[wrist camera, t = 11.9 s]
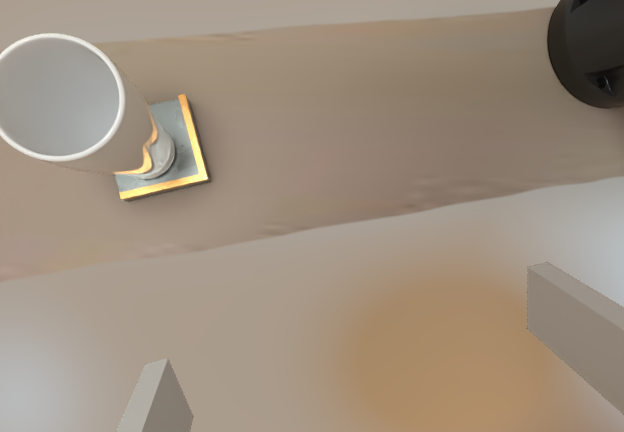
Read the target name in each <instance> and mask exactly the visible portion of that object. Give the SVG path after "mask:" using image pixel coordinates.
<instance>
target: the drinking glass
mask: <svg viewBox="0 0 624 432" xmlns="http://www.w3.org/2000/svg"><path fill="white" fill-rule="evenodd" d="M0 136H1V137H2V138H3V139H4V140H5V141H6V142H7V143H8V144H10V145H11V146H12V147H14V148H15V149H17V150H18V151H20V152H22V153H24V154H26V155H28V156H31V157H33V158H36V159H39V160H42V161H45V162H47V163H50V164H54V165H57V166H60V167H64V168H67V169H72V170H77V171H82V172H88V173H97V174H108V175H120V176H130V177H134V178H138V179H151V178H155V177H158V176H160V175H161V174H163V173H164V172H165V171H167V169H168V168H169V167H170V166H171V164H172V162H173V159H174V155H175V147H174V142H173V140H172V138H171V136H170V134H169V133H168V132H167V130H166V129H165V128H164V127H163V126H162V125H161V123H160V121H159V120H158V118H157V117H156V115H155V114H154V112H153V110H152V109H151V107H150V106H149V104H148V103H147V101H146V99H145V98H144V96H143V95H142V94H141V92H140V91H139V89H138V88H137V87H136V86H135V84H134V83H133V82H132V81H131V80H130V78H129V77H128V76H127V75H126V74H125V73H124V72H123V71H122V70H121V69H120V68H119V67H118V66H117V65H116V64H115V63H114V62H113V61H112V60H110V59H109V58H108V57H107V56H106V55H105V54H104V53H103V52H102V51H100V50H99V49H98V48H96V47H95V46H93V45H92V44H90V43H88V42H86V41H84V40H82V39H79V38H77V37H74V36H69V35H65V34H56V33H45V34H37V35H32V36H29V37H26V38H23V39H21V40H19V41H17V42H15V43H13V44H12V45H10V46H9V47H7V48H6V49H5V50H4V51H3V52H2V53H1V54H0Z"/></svg>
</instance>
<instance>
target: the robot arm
mask: <svg viewBox="0 0 624 432" xmlns="http://www.w3.org/2000/svg"><path fill="white" fill-rule="evenodd" d="M548 44H549V52H550V57H551V61H552V64H553V66H554V69H555V71H556V73H557V75H558V77H559V78H560V80H561V81H562V83H563V84H564V86H565V87H566V88H567V89H568V90H569V91H570V92H571V93H572V94H573V95H574V96H576V97H577V98H578V99H580V100H582V101H583V102H585V103H587V104H590V105H593V106H596V107H601V108H614V107H619V106H623V105H624V0H560V2H559V3H558V5H557V7H556V8H555V10H554V13H553V15H552V18H551V22H550V26H549V35H548ZM527 294H528V295H527V329H528V330H529V331H530V332H532V333H533V334H534V335H535V336H536V337H537V338H538V339H539V340H540V341H542V342H543V343H544V344H545V345H546V346H547V347H548V348H550V349H551V350H552V351H553V352H554V353H555V354H556V355H557V356H558V357H559V358H561V359H562V360H563V361H564V362H565V363H566V364H568V365H569V366H570V367H571V368H572V369H573V370H574V371H575V372H576V373H577V374H579V375H580V376H581V377H582V378H583V379H584V380H585V381H586V382H588V383H589V384H590V385H591V386H592V387H593V388H594V389H595V390H596V391H598V392H599V393H600V394H601V395H602V396H603V397H604V398H605V399H607V400H608V401H609V402H610V403H611V404H612V405H613V406H614V407H616V408H617V409H618V410H619V411H620V412H621V413H622V414H623V415H624V307H622V306H620V305H619V304H617V303H616V302H614V301H612V300H610V299H609V298H607V297H605V296H604V295H602V294H601V293H599V292H597V291H596V290H594V289H592V288H590V287H589V286H587V285H585V284H584V283H582V282H580V281H579V280H577V279H575V278H574V277H572V276H570V275H569V274H567V273H565V272H564V271H562V270H560V269H558V268H556V267H555V266H553V265H552V264H550V263H548V262H546V263H542V264H538V265H534V266H530V267H528V291H527ZM192 420H193V414H192V412H191V410H190V408H189V405H188V403H187V401H186V398H185V396H184V394H183V391H182V389H181V387H180V384H179V382H178V380H177V378H176V375H175V373H174V371H173V368H172V366H171V364H170V362H169V359H168V358H167V359H163V360H159V361H155V362H151V363H147V364H146V365H145V367H144V369H143V372H142V374H141V376H140V378H139V381H138V383H137V385H136V388H135V390H134V392H133V394H132V397H131V399H130V401H129V404H128V406H127V409H126V411H125V413H124V415H123V417H122V420H121V422H120V424H119V427H118V429H117V431H116V432H190V429H191V425H192Z"/></svg>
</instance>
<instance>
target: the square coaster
mask: <svg viewBox="0 0 624 432" xmlns="http://www.w3.org/2000/svg"><path fill="white" fill-rule="evenodd" d="M178 96H179V99H178V100H173V101H168V102H163V103H158V104H153V105H149V106H150V107H151V109H152V110H153V112H154V114H155V115H156V117H157V118H158V120H159V121H160V123H161V125H162V126H163V127H164V128H165V129H166V130H167V132H168V133H169V134H170V136H171V138H172V140H173V142H174V147H175V155H174V159H173V162H172V164H171V166H170V167H169V168H168V169H167V171H165V172H164V173H163V174H161V175H160V176H158V177H155V178H151V179H138V178H134V177H130V176H120V175H115V178H116V181H117V185H118V189H119V192H120V193H119V194H120V197H121V200H122V201H132V200H136V199H140V198H144V197H149V196H153V195H157V194H161V193H166V192H170V191H174V190H178V189H182V188H187V187H191V186H195V185H199V184H203V183H208V182H211V180H210V176H209V172H208V168H207V165H206V161H205V157H204V153H203V150H202V146H201V142H200V138H199V135H198V131H197V127H196V123H195V120H194V116H193V112H192V108H191V105H190V102H189V100H188V99H187V97H186V95H185V94H183V95H178Z"/></svg>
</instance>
